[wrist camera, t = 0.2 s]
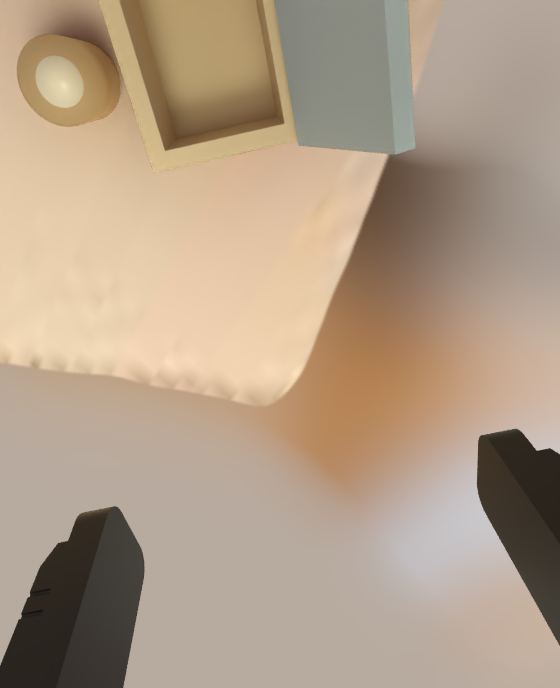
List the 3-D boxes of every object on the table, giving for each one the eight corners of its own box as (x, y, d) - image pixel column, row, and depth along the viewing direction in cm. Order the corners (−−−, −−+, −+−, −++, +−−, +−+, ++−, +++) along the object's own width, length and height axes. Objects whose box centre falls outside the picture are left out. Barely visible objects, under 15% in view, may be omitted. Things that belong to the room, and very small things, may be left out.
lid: (365, -262, 13) (394, -262, 14) (253, -125, 21) (273, -127, 21) (395, 154, 19) (415, 148, 19) (298, 145, 27) (314, 140, 27)
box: (111, -38, 28) (76, -69, 22) (258, -74, 28) (264, -116, 22) (169, 155, 33) (153, 172, 27) (293, 127, 33) (304, 138, 27)
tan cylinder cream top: (35, 49, 30) (1, 44, 26) (104, 32, 30) (82, 24, 25) (65, 127, 32) (39, 134, 28) (130, 112, 32) (113, 117, 28)
